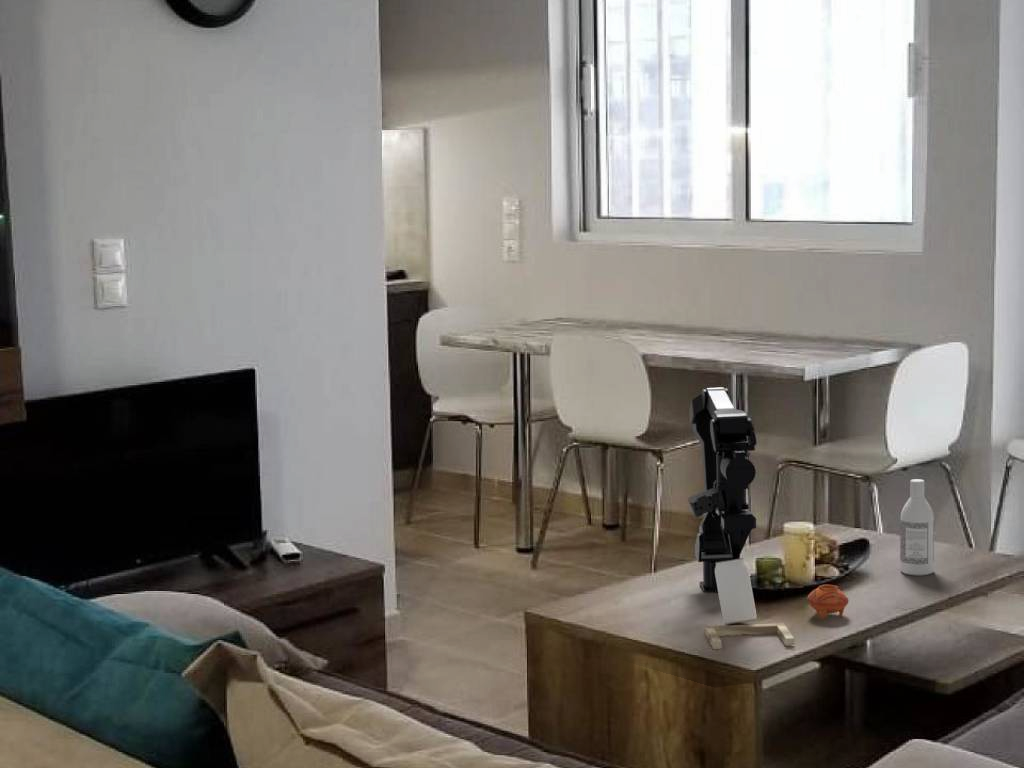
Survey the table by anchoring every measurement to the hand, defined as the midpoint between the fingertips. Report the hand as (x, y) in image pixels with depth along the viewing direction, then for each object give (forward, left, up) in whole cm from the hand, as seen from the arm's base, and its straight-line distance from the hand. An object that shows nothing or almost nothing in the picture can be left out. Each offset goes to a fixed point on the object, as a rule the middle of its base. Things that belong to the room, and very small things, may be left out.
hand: (732, 554), depth 321 cm
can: (+9, 0, -11) cm, 14 cm away
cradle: (+17, 0, -12) cm, 21 cm away
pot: (+4, +18, -12) cm, 22 cm away
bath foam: (-25, +44, -12) cm, 52 cm away
